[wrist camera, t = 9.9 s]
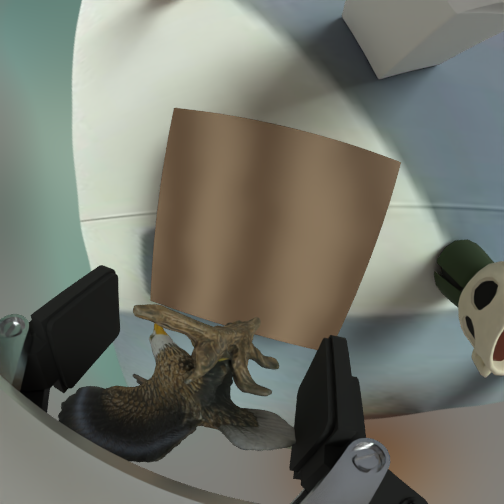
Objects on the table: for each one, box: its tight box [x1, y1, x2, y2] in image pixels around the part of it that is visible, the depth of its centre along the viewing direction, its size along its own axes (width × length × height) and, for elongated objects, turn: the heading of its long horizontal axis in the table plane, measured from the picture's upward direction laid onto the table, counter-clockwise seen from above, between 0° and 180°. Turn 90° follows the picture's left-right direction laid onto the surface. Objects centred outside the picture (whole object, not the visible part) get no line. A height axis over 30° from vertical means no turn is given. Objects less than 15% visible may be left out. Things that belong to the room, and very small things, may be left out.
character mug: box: [434, 240, 504, 378], centre depth 18 cm, size 11×7×13 cm, turn 179°
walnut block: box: [150, 108, 401, 350], centre depth 23 cm, size 16×16×6 cm
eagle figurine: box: [58, 304, 296, 462], centre depth 10 cm, size 8×7×9 cm
